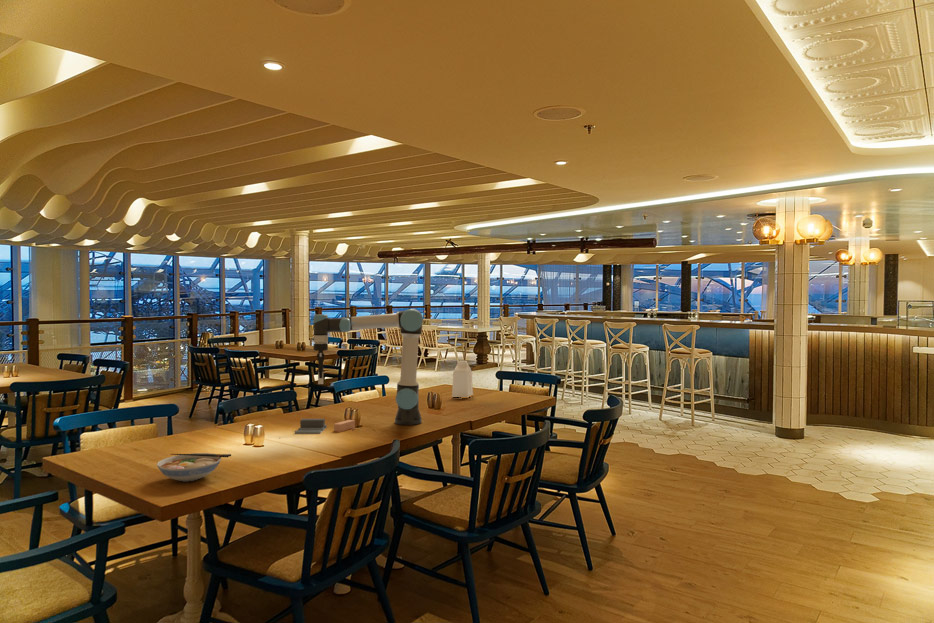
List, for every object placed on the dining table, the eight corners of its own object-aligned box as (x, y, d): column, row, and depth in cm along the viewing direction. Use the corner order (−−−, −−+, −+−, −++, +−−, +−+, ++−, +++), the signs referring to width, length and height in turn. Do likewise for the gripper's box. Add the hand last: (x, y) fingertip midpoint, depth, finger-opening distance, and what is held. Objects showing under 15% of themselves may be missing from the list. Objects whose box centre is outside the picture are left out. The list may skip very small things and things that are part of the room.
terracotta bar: (349, 428, 320) (349, 419, 320) (354, 429, 318) (354, 420, 318) (334, 433, 310) (333, 423, 310) (339, 434, 308) (339, 424, 308)
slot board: (326, 428, 319) (326, 424, 319) (320, 435, 303) (320, 431, 303) (302, 428, 319) (302, 424, 319) (294, 435, 303) (294, 431, 303)
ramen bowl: (140, 486, 220) (139, 464, 220) (179, 469, 243) (179, 449, 242) (201, 490, 216) (201, 468, 216) (235, 472, 239) (235, 452, 238)
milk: (451, 397, 422) (452, 361, 421) (457, 395, 433) (457, 359, 432) (468, 398, 418) (468, 362, 418) (473, 396, 429) (473, 360, 429)
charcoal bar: (324, 428, 317) (324, 418, 317) (323, 429, 313) (323, 420, 313) (302, 428, 317) (302, 418, 317) (300, 429, 313) (300, 420, 313)
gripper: (313, 341, 331) (314, 379, 332) (313, 344, 307) (313, 385, 308) (327, 341, 333) (327, 379, 334) (327, 344, 309) (328, 385, 309)
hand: (320, 382), depth 321 cm, fingers open, 13 cm apart
